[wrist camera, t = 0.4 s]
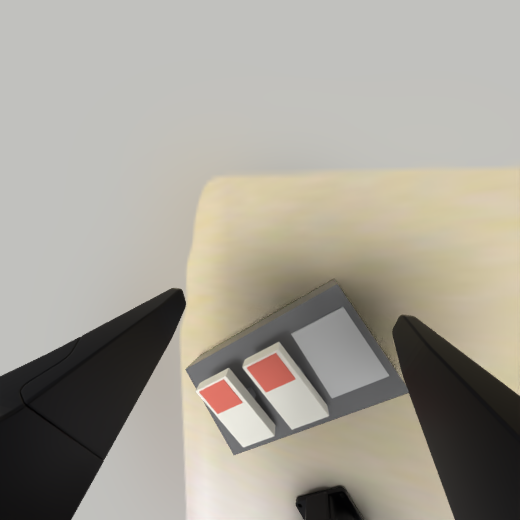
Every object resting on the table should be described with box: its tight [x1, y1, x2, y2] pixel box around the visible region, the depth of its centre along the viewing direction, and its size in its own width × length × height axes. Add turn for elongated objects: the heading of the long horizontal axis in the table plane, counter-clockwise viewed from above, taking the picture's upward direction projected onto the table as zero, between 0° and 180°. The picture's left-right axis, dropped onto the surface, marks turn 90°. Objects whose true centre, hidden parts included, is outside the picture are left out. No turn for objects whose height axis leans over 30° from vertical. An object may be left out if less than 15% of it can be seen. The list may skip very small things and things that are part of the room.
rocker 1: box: [196, 368, 276, 447], centre depth 20 cm, size 8×4×1 cm, turn 33°
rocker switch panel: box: [185, 279, 409, 455], centre depth 21 cm, size 11×20×4 cm, turn 124°
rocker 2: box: [242, 342, 329, 430], centre depth 18 cm, size 8×4×1 cm, turn 33°
